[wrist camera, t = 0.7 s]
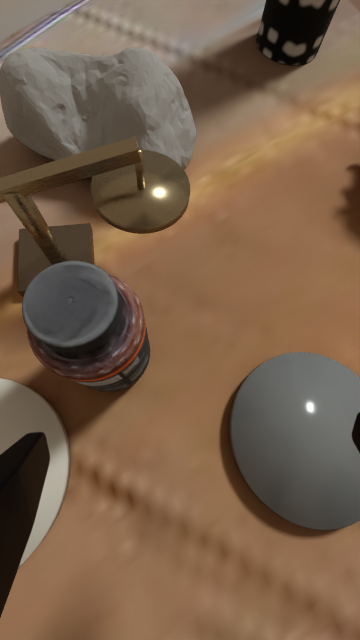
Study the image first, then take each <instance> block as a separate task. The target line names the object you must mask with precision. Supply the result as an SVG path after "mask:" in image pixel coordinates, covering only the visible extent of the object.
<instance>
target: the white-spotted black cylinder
mask: <svg viewBox="0 0 360 640" xmlns="http://www.w3.org/2000/svg"><path fill="white" fill-rule="evenodd" d="M339 1H340V0H266V3H265V7H264V11H263V15H262V19H261V23H260V27H259V31H258V35H257V40H256V42H257V46H258V48H259V49H260V51H261V52H262V53H263V54H264V55H266V56H267V57H269V58H270V59H272V60H274V61H276V62H279V63H282V64H288V65H302V64H306V63H308V62H310V61H312V60H313V59H314V58H315V56H316V54H317V52H318V50H319V48H320V45H321V43H322V41H323V38H324V36H325V34H326V31H327V29H328V27H329V24H330V22H331V20H332V18H333V15H334V13H335V11H336V8H337V6H338V4H339Z"/></svg>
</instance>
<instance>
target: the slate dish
mask: <svg viewBox="0 0 360 640" xmlns="http://www.w3.org/2000/svg"><path fill="white" fill-rule="evenodd" d="M359 412H360V378H359V377H358V376H357V375H356V374H355V373H354V372H352V371H351V370H350V369H348V368H347V367H345V366H344V365H342V364H340V363H339V362H337V361H335V360H333V359H330V358H328V357H325V356H322V355H319V354H313V353H306V352H295V353H287V354H283V355H279V356H277V357H274V358H272V359H270V360H268V361H266V362H264V363H262V364H261V365H259V366H258V367H256V368H255V369H254V370H253V371H252V372H251V373H250V374H249V375H248V376H247V377H246V378H245V379H244V381H243V382H242V383H241V385H240V387H239V388H238V390H237V392H236V394H235V397H234V400H233V402H232V407H231V411H230V418H229V437H230V444H231V449H232V453H233V457H234V459H235V462H236V464H237V467H238V469H239V471H240V473H241V475H242V477H243V479H244V480H245V482H246V483H247V485H248V486H249V488H250V489H251V490H252V491H253V493H254V494H255V495H256V496H257V497H258V498H259V499H260V500H261V501H262V502H263V503H264V504H265V505H267V506H268V507H269V508H270V509H271V510H273V511H274V512H275V513H277V514H278V515H280V516H281V517H283V518H284V519H286V520H288V521H290V522H292V523H294V524H297V525H300V526H303V527H306V528H311V529H316V530H333V529H340V528H343V527H346V526H349V525H352V524H354V523H356V522H358V521H360V453H359V451H358V449H357V448H356V446H355V444H354V442H353V440H352V430H353V426H354V423H355V419H356V416H357V414H358V413H359Z"/></svg>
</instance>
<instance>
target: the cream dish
mask: <svg viewBox="0 0 360 640" xmlns="http://www.w3.org/2000/svg"><path fill="white" fill-rule="evenodd" d="M31 432H43V433H45V435H46V439H47V444H48V448H49V453H50V463H49V467H48V471H47V475H46V479H45V483H44V487H43V491H42V495H41V499H40V503H39V506H38V510H37V514H36V518H35V522H34V525H33V528H32V531H31V534H30V537H29V540H28V542H27V545H26V548H25V551H24V554H23V556H22V559H21V562H20V565H19V567H20V566H21V565H22V564H23V563H24V562H25V561H26V560H27V558H28V557H29V556H30V555H31V554H32V553H33V552H34V551H35V549H36V548H37V547H38V546H39V545H40V543H41V542H42V541H43V540H44V538H45V537H46V535H47V534H48V532H49V531H50V529H51V527H52V526H53V524H54V522H55V520H56V518H57V516H58V514H59V512H60V509H61V506H62V504H63V501H64V498H65V495H66V491H67V487H68V482H69V476H70V460H71V458H70V447H69V441H68V437H67V433H66V430H65V428H64V425H63V422H62V420H61V419H60V417H59V415H58V413H57V412H56V410H55V409H54V408H53V406H52V405H51V404H50V403H49V402H48V401H47V400H46V399H45V398H44V397H43V396H42V395H41V394H39V393H38V392H36V391H35V390H33V389H31V388H29V387H28V386H26V385H23V384H20V383H17V382H14V381H11V380H6V379H1V378H0V454H2V453H3V452H4V451H5V450H7V449H8V448H9V447H10V446H12V445H13V444H14V443H15V442H17V441H18V440H19V439H20V438H22V437H23V436H24V435H26V434H27V433H31Z"/></svg>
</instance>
